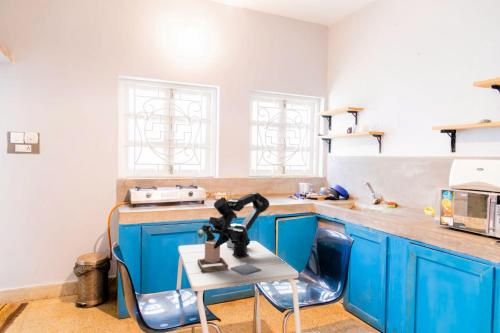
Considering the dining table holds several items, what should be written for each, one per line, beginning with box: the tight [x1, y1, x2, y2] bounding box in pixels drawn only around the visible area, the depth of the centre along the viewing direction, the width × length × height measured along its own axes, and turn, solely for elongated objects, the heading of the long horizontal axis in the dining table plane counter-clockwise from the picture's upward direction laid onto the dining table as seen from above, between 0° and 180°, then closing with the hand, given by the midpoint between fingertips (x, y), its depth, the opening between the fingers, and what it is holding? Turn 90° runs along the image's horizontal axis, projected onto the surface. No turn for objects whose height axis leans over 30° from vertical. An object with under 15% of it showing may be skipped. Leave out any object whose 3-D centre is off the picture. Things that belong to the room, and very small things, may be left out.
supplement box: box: [226, 223, 242, 249], centre depth 185 cm, size 7×7×13 cm
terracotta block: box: [204, 239, 221, 264], centre depth 150 cm, size 5×5×9 cm
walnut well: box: [197, 256, 229, 273], centre depth 150 cm, size 12×12×2 cm
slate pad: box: [230, 263, 262, 276], centre depth 146 cm, size 10×10×1 cm
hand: (210, 247), depth 149 cm, fingers closed on terracotta block, 5 cm apart
